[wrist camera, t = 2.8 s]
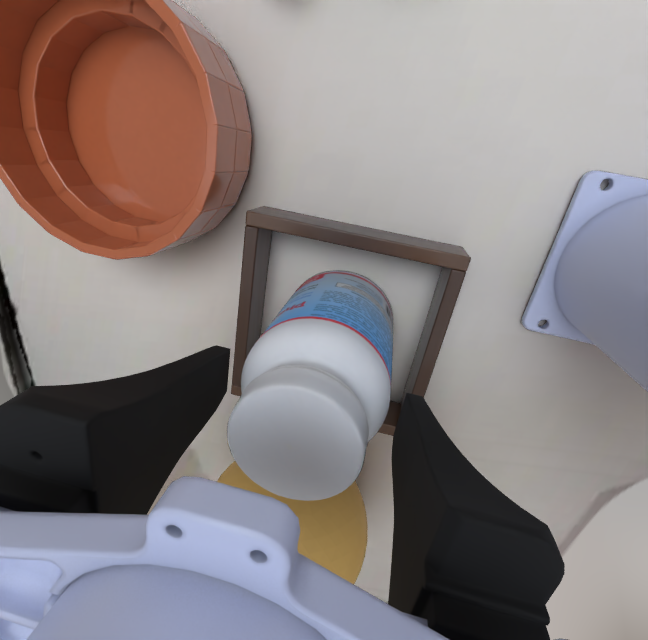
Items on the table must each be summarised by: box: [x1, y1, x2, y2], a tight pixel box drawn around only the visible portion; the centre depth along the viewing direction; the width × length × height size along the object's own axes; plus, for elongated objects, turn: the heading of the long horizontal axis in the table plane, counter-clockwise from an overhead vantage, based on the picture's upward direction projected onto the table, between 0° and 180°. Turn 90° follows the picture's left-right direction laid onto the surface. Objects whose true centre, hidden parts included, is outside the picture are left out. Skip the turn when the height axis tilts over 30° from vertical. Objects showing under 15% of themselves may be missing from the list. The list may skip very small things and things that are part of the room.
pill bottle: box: [227, 271, 393, 501], centre depth 17 cm, size 6×6×11 cm
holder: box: [231, 206, 471, 436], centre depth 21 cm, size 11×11×2 cm
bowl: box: [0, 0, 252, 259], centre depth 18 cm, size 12×12×4 cm
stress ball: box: [217, 461, 367, 584], centre depth 23 cm, size 10×10×10 cm
